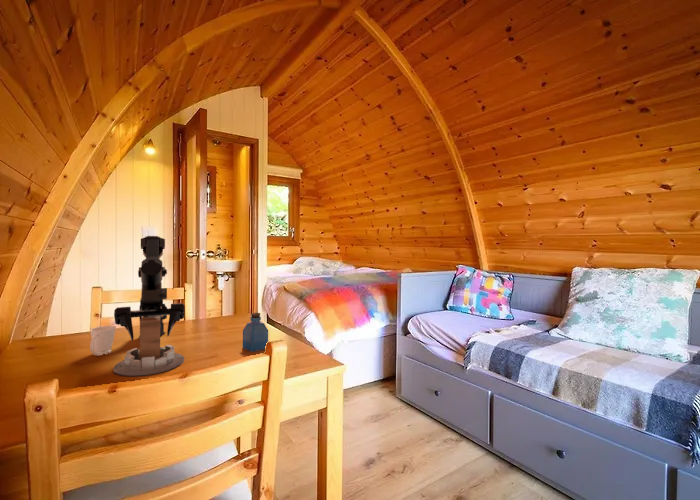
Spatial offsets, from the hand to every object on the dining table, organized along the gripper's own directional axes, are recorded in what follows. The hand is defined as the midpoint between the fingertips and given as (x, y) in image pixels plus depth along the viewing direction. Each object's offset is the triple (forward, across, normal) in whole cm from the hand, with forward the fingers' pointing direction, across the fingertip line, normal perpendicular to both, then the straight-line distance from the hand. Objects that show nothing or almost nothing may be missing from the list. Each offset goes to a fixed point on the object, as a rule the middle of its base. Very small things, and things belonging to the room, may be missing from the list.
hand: (150, 337), depth 100 cm
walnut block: (+6, 0, +4) cm, 7 cm away
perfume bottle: (+5, +31, +6) cm, 32 cm away
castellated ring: (+6, 0, +5) cm, 8 cm away
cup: (-5, -14, +17) cm, 23 cm away
